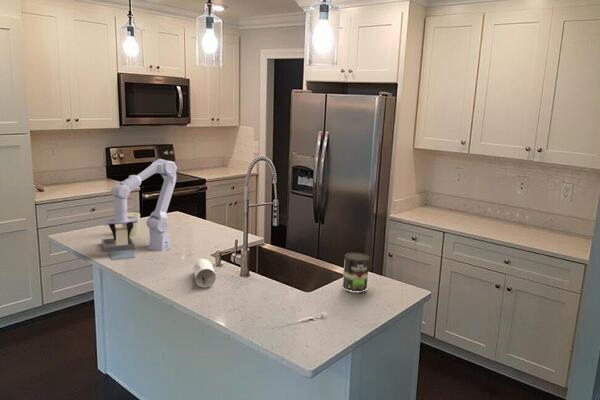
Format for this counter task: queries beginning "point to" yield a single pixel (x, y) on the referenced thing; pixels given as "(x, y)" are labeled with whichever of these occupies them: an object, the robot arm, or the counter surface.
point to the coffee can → (355, 271)
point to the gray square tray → (111, 246)
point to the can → (134, 224)
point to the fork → (311, 317)
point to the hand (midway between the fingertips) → (121, 239)
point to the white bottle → (204, 273)
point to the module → (121, 236)
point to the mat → (121, 255)
